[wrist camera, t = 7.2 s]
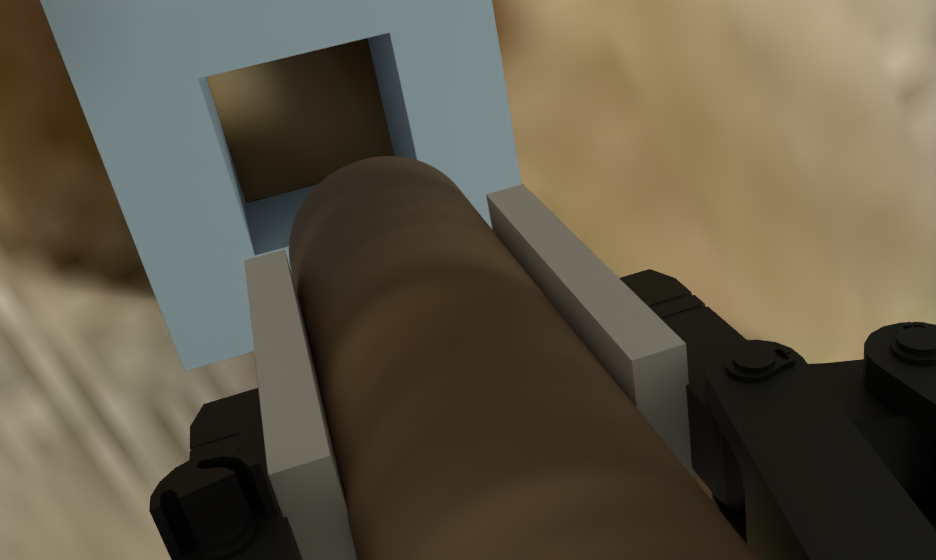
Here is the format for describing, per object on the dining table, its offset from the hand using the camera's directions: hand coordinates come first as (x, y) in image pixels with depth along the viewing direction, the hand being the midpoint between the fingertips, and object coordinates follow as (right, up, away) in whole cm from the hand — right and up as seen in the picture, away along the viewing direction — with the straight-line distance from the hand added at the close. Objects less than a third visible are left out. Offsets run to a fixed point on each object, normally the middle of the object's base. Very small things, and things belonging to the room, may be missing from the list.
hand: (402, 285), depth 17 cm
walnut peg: (0, +1, +2) cm, 2 cm away
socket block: (-5, +6, +14) cm, 16 cm away
